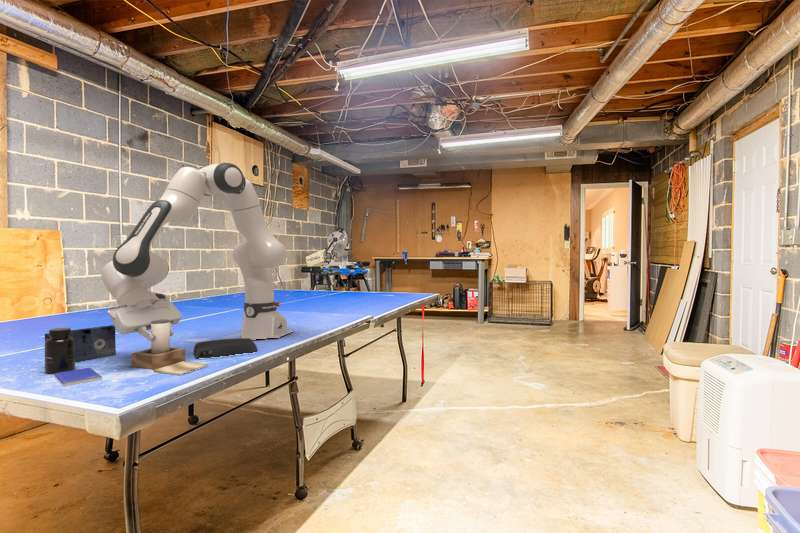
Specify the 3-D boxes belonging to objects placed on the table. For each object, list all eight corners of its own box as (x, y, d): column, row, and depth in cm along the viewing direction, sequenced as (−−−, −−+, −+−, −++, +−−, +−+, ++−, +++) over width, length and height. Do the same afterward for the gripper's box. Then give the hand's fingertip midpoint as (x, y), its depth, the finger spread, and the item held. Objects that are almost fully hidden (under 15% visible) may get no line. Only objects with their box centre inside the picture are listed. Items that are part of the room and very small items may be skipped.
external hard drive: (193, 353, 143) (193, 341, 143) (252, 347, 153) (251, 336, 153) (195, 361, 132) (195, 349, 132) (258, 355, 141) (258, 343, 141)
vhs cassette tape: (112, 354, 140) (112, 324, 139) (116, 355, 138) (116, 325, 138) (44, 366, 124) (43, 333, 123) (48, 368, 122) (47, 334, 122)
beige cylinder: (161, 353, 131) (161, 319, 130) (173, 355, 129) (173, 320, 129) (147, 357, 126) (146, 321, 126) (159, 359, 124) (159, 322, 124)
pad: (182, 363, 128) (182, 361, 128) (208, 366, 125) (208, 364, 125) (153, 372, 119) (153, 370, 118) (180, 375, 115) (180, 373, 115)
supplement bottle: (39, 374, 115) (38, 331, 115) (52, 368, 122) (51, 327, 122) (68, 373, 117) (67, 330, 117) (80, 366, 124) (79, 326, 123)
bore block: (160, 358, 133) (160, 346, 133) (185, 361, 130) (184, 348, 130) (131, 366, 124) (131, 353, 124) (156, 369, 121) (156, 356, 121)
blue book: (102, 375, 111) (90, 367, 120) (63, 382, 105) (54, 373, 114) (102, 381, 111) (90, 372, 120) (63, 388, 105) (54, 378, 114)
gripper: (110, 300, 120) (135, 337, 117) (170, 294, 139) (194, 325, 136) (99, 315, 121) (124, 351, 118) (160, 306, 140) (183, 337, 138)
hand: (162, 337), depth 127 cm, fingers closed on beige cylinder, 5 cm apart
